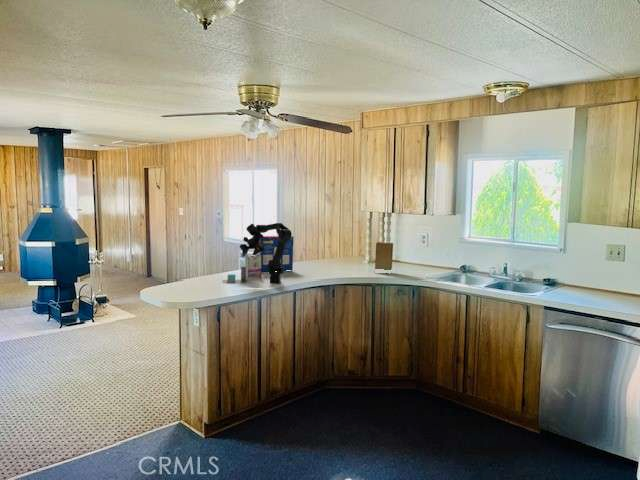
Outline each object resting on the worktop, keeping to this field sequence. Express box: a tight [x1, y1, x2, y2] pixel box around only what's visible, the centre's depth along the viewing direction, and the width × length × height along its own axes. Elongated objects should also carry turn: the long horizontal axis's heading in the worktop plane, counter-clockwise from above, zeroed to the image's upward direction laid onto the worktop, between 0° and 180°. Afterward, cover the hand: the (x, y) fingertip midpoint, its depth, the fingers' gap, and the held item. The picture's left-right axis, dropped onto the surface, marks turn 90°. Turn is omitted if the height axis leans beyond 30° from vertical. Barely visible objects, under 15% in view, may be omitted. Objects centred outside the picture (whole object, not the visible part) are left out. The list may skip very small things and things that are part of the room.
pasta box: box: [256, 235, 295, 274], centre depth 378 cm, size 28×8×28 cm, turn 121°
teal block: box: [227, 272, 236, 282], centre depth 323 cm, size 5×5×5 cm
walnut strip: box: [221, 265, 252, 284], centre depth 324 cm, size 19×12×11 cm, turn 102°
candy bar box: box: [244, 254, 262, 278], centre depth 347 cm, size 11×5×16 cm, turn 129°
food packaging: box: [374, 241, 394, 270], centre depth 390 cm, size 13×9×25 cm
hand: (247, 256), depth 349 cm, fingers open, 9 cm apart
